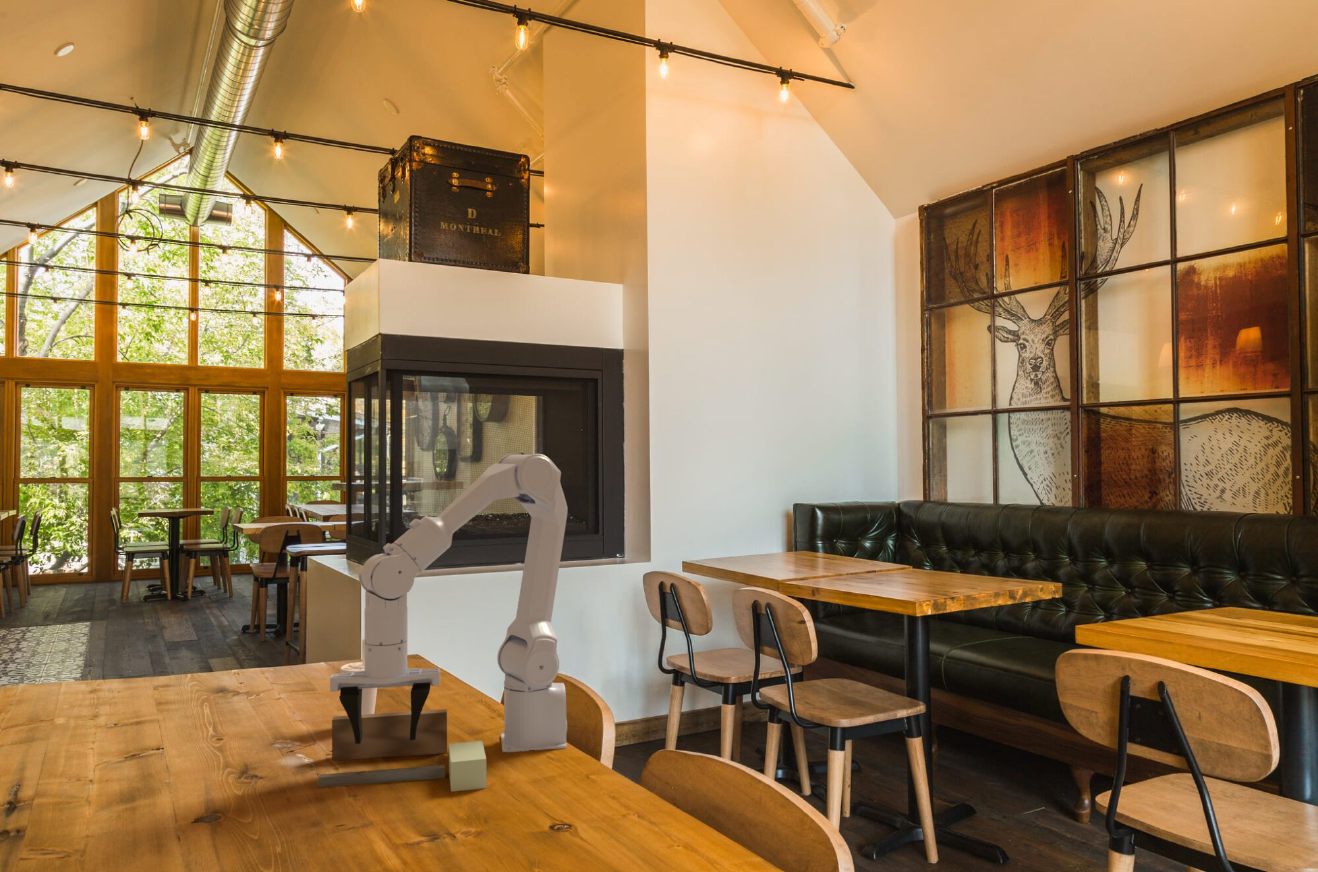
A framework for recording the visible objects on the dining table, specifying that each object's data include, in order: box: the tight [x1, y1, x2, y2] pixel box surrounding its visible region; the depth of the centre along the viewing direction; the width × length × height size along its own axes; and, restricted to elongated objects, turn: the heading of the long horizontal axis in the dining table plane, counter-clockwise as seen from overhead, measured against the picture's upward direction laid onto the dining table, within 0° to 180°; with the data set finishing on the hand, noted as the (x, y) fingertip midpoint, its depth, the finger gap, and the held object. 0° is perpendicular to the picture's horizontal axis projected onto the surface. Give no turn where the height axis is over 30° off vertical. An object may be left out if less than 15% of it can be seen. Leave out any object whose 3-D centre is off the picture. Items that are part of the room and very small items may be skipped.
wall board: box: [331, 708, 448, 761], centre depth 129 cm, size 16×2×6 cm, turn 102°
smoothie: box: [339, 638, 378, 716], centre depth 143 cm, size 6×6×14 cm
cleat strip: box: [318, 764, 446, 788], centre depth 118 cm, size 16×1×2 cm, turn 102°
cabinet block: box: [448, 740, 487, 792], centre depth 118 cm, size 4×8×4 cm, turn 15°
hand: (386, 739), depth 123 cm, fingers open, 7 cm apart
